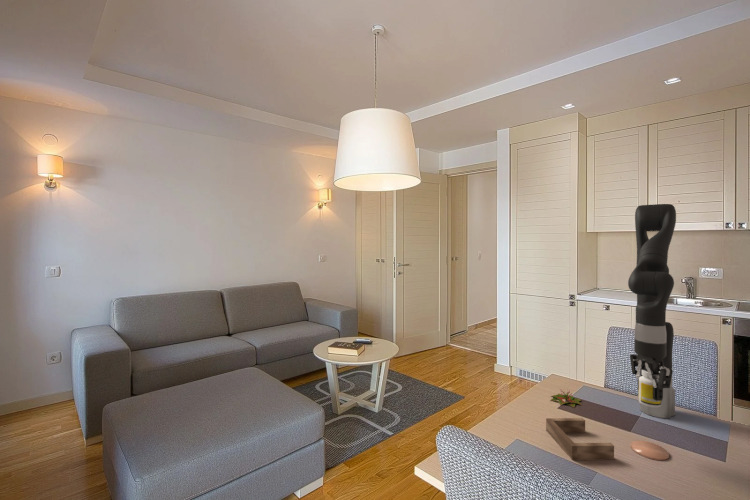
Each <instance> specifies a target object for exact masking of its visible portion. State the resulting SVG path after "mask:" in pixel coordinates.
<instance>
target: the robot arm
mask: <svg viewBox="0 0 750 500" xmlns="http://www.w3.org/2000/svg"><path fill="white" fill-rule="evenodd" d="M634 221H635V223H634V224H635V225H634V226H635V238H636V241H635V242H636V266H635V268H634V269H633V270H632V271H631V273H630V275H629V278H628V281H627V284H628V289H629V291H631V292H632V293H633V294H635V295H636V305H635V325H634V343H633V344H634V346H633V347H634V348H633V349H634V350H633V351H634V353H635V354H629V359H630V360H629V361H630V366H631V374H632V375H635V377H636V379H637V390H638V391H637V392H639V377H641V376H643V375H642V369H643V370H645V371H647V372H648V375H649V378H650V379H651V380H652V383H653V386H654V387H653V399H654V400H656V401H661V406H660V407H649V406H645V405H643V404H641V403H640V402H639V410H640V411H641V412H642V413H644V414H646V415H649V416H652V417H655V418H661V419H668V418H669V419H670V418H671V417H672V416H673V417H675V416H676V390H675V388H674V387H673V373H674V371H673V347H674V336H675V335H674V326H673V324H672V323H671V322H669V321H666V317H667V316H666V315H667V312H666V311H667V306H668V302H669V299H670V296H671V294H672V292H673V290H674V286H675V281H674V277H673V276H672V274H670V268H669V266H668V257H669V256H668V255H669V248H670V244H671V242H672V239H673V236H674V232H675V229H676V228H675V227H676V222H677V211H676V207H675V206H674V205H673V204H671V203H659V204H641V205H638V206H637V207H636V209H635V214H634ZM648 232H657V233H655V234H654V235H653V236H652V237H650V238H649V235H648ZM657 374H659V376H654V375H657ZM656 379H658V380H659V382H658V383H657V381H656Z"/></svg>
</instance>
